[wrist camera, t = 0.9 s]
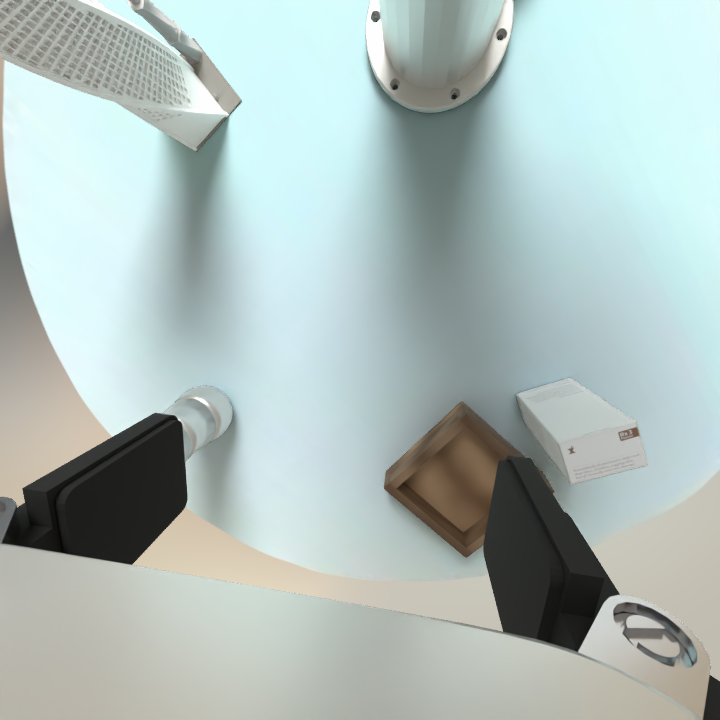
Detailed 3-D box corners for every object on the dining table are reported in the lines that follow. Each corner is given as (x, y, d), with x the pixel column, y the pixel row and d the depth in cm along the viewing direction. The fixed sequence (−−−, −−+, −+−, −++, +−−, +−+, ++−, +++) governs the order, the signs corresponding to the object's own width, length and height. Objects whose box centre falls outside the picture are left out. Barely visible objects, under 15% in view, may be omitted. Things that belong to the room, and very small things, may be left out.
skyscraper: (252, 114, 37) (-174, -269, 10) (200, 171, 39) (-262, -16, 12) (195, 40, 36) (-450, -607, 9) (145, 103, 38) (-492, -263, 11)
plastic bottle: (225, 373, 45) (85, 460, 26) (247, 422, 46) (131, 538, 27) (182, 388, 46) (19, 481, 27) (205, 435, 48) (66, 554, 28)
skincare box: (525, 425, 41) (568, 491, 30) (513, 390, 40) (554, 443, 29) (582, 409, 40) (651, 471, 28) (571, 372, 39) (638, 421, 27)
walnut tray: (461, 401, 41) (466, 413, 38) (543, 473, 42) (554, 491, 39) (385, 471, 45) (383, 488, 42) (462, 536, 46) (466, 557, 43)
